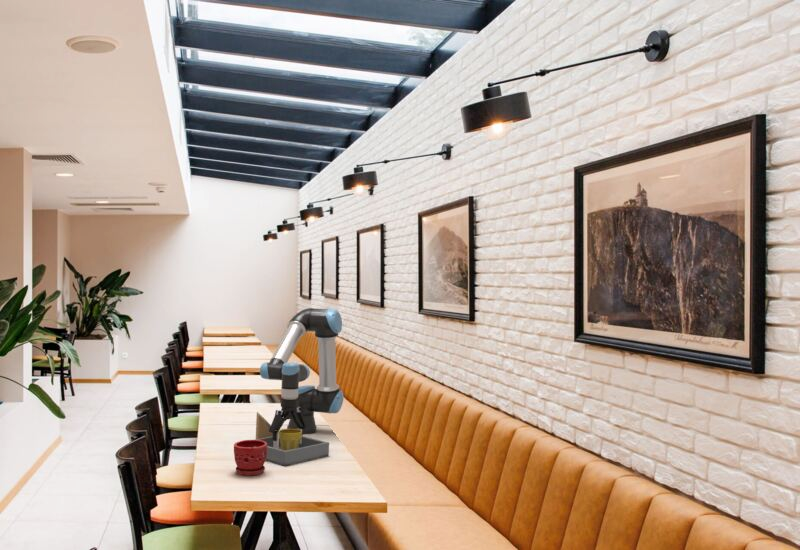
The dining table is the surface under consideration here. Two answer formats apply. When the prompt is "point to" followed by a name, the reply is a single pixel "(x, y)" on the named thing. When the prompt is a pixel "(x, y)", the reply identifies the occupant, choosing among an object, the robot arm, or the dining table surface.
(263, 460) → the plant pot
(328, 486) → the dining table surface
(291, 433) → the plant pot
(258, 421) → the sandwich container
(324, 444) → the crate
